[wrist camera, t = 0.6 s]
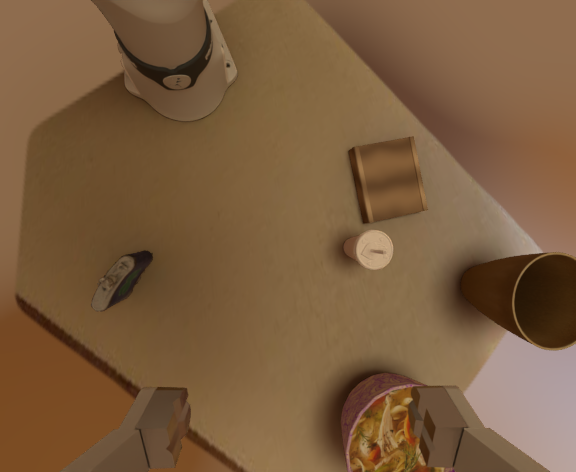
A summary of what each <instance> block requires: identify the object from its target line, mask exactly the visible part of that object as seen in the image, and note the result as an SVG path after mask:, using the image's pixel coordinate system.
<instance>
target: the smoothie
mask: <svg viewBox="0 0 576 472" xmlns="http://www.w3.org/2000/svg"><path fill="white" fill-rule="evenodd" d="M343 249H344V252H345V254H346V255H348V256H349V257H351V258H353V259H354V260H356V261H357V262H358V263H359V264H360V265H361V266H362V267H364V268H367V269H372V270H377V269H381V268H383V267H385V266H386V265H387V264H388V263H389V262H390V260H391V258H392V255H393V244H392V241H391V239H390V238H389V237H388V236H387V235H386V234H385V233H383V232H381V231H378V230H368V231H365V232H363V233H362V234H361V235H358V236H355V237H352V238H349V239H347V240H346V241H345V243H344V246H343Z"/></svg>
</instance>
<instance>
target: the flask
mask: <svg viewBox="0 0 576 472" xmlns="http://www.w3.org/2000/svg"><path fill="white" fill-rule="evenodd" d="M152 254H153V253H150V252H149V251H142V252H137V253H133V254H128V255H124V256H122V257H121V258H120V259H119V260H118V261H117V262H116V263H115V264H114V265H113V266H112V267H111V268H110V269H109V271H108V272H107V273H106V275H105V276H104V278H101V279H99V282H100V284H99V283H98V285H99V286H98V288H97V290H96V292H95V294H94V296H93V299H92V303H91V306H92V308H93V309H94V310H95V311H100V312H102V311H105V310H106V309H108V308H109V307H111V306H113V305H114V304H116V303H118V302H120V301H122V300H124V299H126V298H127V297H128V296H129V295H130V294H131V293H132V291H133V288H134V286H135V285H136V284H137V283H138V281H139V280H140V279H141V274H142V273H143V272H144V271H145V268H146V267H148V265H149V264H150V263H151V261H152V260H153V256H152Z"/></svg>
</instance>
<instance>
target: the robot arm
mask: <svg viewBox="0 0 576 472" xmlns="http://www.w3.org/2000/svg"><path fill="white" fill-rule="evenodd" d="M91 1H92V2H93V3H94V4H95V5H96V6H97V7H98V8H99V10H100V11H101V12H102V14H103V15H104V16H105V18H106V19H107V20H108V22H109V23H110V24H111V26H112V28H113V29H114V33H115V36H116V38H117V40H118V50H119V52H120V53H122V60H121V64H122V66H123V68H124V79H125V87H126V89H127V90H128V92H130V93H131V94H133V95H135V96H137V97H139V98H142V99H144V100H145V101H146V102H147V103H149V104H150V106H152V107H153V108H154V109H155V110H156V111H157V112H159V113H160V114H162V115H163V116H165V117H168V118H170V119H173V120H178V121H194V120H198V119H201V118H203V117H205V116H207V115H209V114H210V113H212V112H213V111H214V110H215V109H216V108H217V107H218V105H219V104H220V102H221V101H222V99H223V96H224V94H225V91H226V89H227V88H228V87H229V86H230V85H231V84H232V83H233V82H234V81H235V80H236V78H237V76H238V73H237V69H236V66H235V64H234V62H233V59H232V57H231V54H230V52H229V50H228V47H227V45H226V43H225V40H224V38H223V35H222V33H221V31H220V28H219V26H218V23H217V21H216V19H215V16H214V14H213V12H212V9H211V7H210V4H209V2H208V0H91ZM227 65H229V66H230V67H229V68H227V67H226V66H227ZM187 397H188V392H187V388H177V387H144V388H143V389H142V390H141V391H140V392H139V394H138V396H137V397H136V399H135V401H134V403H133V404H132V406H131V408H130V410H129V411H128V413H127V415H126V417H125V418H124V420H123V422H122V424H121V425H120V427H119V429H117V430H113V431H111V432H110V433H109V434H108V435H106V436H105V437H104V438H102V439H101V440H100V441H99V442H97V443H96V444H95V445H93V446H92V447H91V448H90V449H88V450H87V451H86V452H85V453H83V454H82V455H81V456H79V457H78V458H77V459H76V460H74V461H73V462H72V463H71V464H69V465H68V466H67V467H65V468H64V469H63V470H61V471H60V472H148V471H149V469H152V468H175V466H176V464H177V461H178V458H179V455H180V452H181V449H182V444H181V439H182V438H183V437H184V436H185V435H186V434H187V431H188V428H189V423H190V417H191V409H190V404H189V403H188V402H187V401H186V400H187ZM411 397H412V399H413V400H412V401H411V402H410V403H409V406H408V417H409V422H410V426H411V429H412V431H413V434H415V435H416V436H417V437H418V438H419V439H420V442H419V449H420V451H421V453H422V456H423V458H424V461H425V463H426V466H427V467H443V468H453V470H454V471H455V472H550V471H549V470H547V469H546V468H544V467H543V466H542V465H540V464H539V463H537V462H536V461H535V460H533V459H532V458H531V457H529V456H528V455H526V454H525V453H523V452H522V451H521V450H519V449H518V448H517V447H515V446H514V445H512V444H511V443H510V442H508V441H507V440H506V439H504V438H503V437H501V436H500V435H499V434H497V433H496V432H494V431H493V430H492V429H490V428H485V427H484V425H483V424H482V422H481V421H480V419H479V418H478V416H477V415H476V413H475V412H474V410H473V409H472V407H471V406H470V404H469V403H468V401H467V400H466V398H465V396H464V395H463V393H462V392H461V390H460V389H459V388H458V387H457V386H413V387H412V389H411Z"/></svg>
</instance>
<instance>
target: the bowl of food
mask: <svg viewBox="0 0 576 472" xmlns="http://www.w3.org/2000/svg"><path fill="white" fill-rule="evenodd" d="M413 386H427V385H425V384H422V383H420V382H417V381H415V380H412V379H410V378H408V377H405V376H402V375H398V374H391V373H382V374H376V375H372V376H370V377H369V378H367V379H365V380H363V381H361V382H360V383H359V384H358V385H357V386H356V387H355V388H354V389H353V390H352V391H351V392H350V394H349V396H348V398H347V400H346V402H345V403H344V406H343V411H342V416H341V429H342V438H343V446H344V453H345V459H346V465H347V471H348V472H455V471H454V470H453V468H443V467H427V466H426V463H425V461H424V458H423V456H422V453H421V451H420V449H419V442H420V439H419V438H418V437H417V436H416V435H415V434H413V431H412V429H411V426H410V422H409V417H408V406H409V403H410V402H411V401H412V400H413V399H412V397H411V389H412V387H413Z"/></svg>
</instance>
